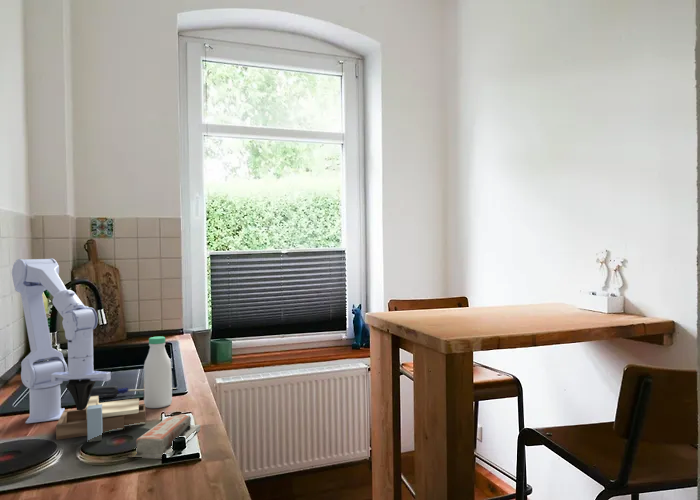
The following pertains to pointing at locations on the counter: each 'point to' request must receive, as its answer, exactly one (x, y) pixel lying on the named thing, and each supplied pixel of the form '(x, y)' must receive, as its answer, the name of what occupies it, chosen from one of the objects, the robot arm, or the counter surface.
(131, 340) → the counter surface
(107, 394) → the screwdriver
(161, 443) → the packaged product
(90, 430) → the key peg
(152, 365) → the milk bottle
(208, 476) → the counter surface
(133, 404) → the lid
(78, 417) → the wooden compartment box
